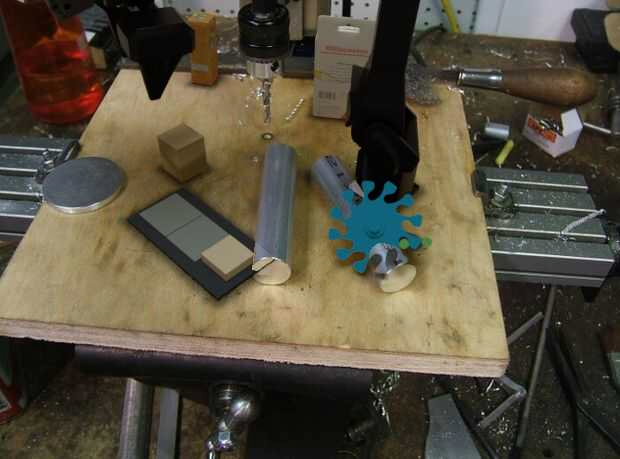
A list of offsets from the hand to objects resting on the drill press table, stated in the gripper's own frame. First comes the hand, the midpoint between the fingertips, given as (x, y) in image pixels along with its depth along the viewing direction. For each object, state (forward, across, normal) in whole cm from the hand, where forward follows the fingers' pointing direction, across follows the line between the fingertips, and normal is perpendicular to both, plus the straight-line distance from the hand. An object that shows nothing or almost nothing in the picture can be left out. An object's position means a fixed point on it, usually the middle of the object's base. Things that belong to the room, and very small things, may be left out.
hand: (140, 77), depth 61 cm
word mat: (+12, +14, +1) cm, 19 cm away
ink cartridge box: (+11, 0, +29) cm, 31 cm away
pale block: (+12, +2, +4) cm, 13 cm away
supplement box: (+13, -17, +14) cm, 26 cm away
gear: (+11, +25, +17) cm, 32 cm away
